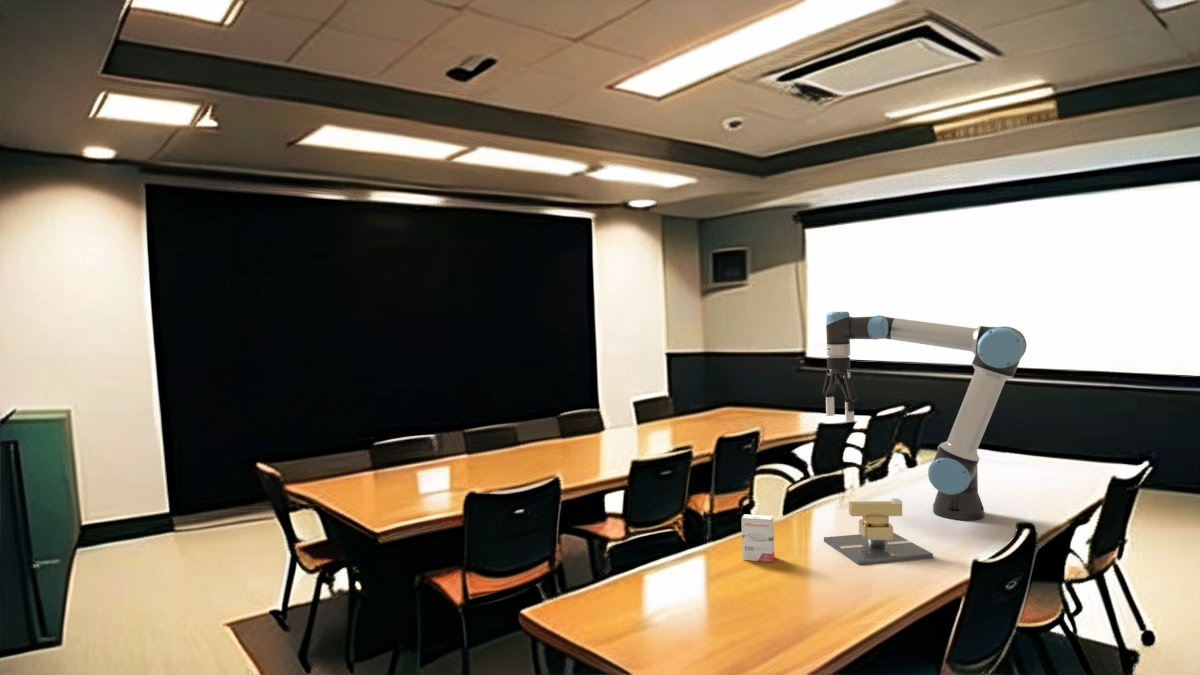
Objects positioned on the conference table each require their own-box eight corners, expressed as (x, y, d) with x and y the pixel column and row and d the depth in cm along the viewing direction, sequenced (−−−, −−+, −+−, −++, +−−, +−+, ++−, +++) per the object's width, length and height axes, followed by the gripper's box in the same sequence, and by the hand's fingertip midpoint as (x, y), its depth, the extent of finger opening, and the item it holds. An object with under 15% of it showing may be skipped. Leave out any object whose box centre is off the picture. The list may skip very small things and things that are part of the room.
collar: (847, 531, 204) (846, 496, 204) (896, 531, 203) (895, 496, 202) (854, 539, 196) (853, 503, 196) (905, 539, 195) (905, 503, 195)
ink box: (775, 556, 196) (774, 514, 196) (773, 562, 192) (772, 520, 191) (744, 554, 199) (743, 513, 199) (741, 560, 194) (740, 518, 194)
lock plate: (891, 535, 211) (891, 512, 211) (932, 557, 191) (932, 532, 191) (823, 541, 208) (823, 517, 208) (858, 564, 188) (857, 538, 188)
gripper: (811, 355, 250) (813, 413, 250) (846, 359, 225) (847, 424, 226) (831, 354, 251) (832, 412, 251) (868, 358, 226) (869, 423, 227)
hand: (839, 418), depth 239 cm, fingers open, 13 cm apart
